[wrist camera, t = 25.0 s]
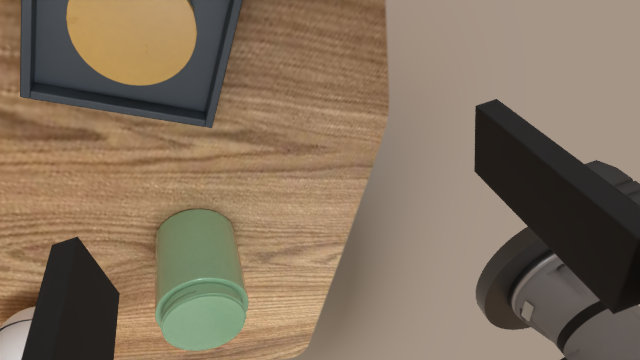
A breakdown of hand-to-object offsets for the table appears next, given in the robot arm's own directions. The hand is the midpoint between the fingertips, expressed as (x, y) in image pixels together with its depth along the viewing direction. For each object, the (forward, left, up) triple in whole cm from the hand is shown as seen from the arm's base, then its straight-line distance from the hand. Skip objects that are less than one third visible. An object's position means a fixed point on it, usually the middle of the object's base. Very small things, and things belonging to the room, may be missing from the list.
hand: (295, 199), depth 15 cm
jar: (-3, +23, -24) cm, 33 cm away
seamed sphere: (+11, +34, -24) cm, 43 cm away
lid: (+5, +3, -22) cm, 23 cm away
